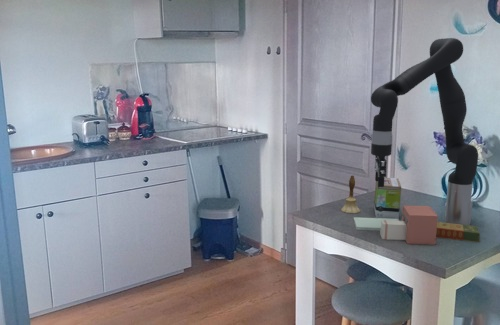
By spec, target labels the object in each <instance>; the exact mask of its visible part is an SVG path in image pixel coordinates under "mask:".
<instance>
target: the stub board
mask: <svg viewBox="0 0 500 325" xmlns="http://www.w3.org/2000/svg"><path fill="white" fill-rule="evenodd" d="M381 220H390V221H400V220H399V219H388V218H375V217H353V223H354V226H355V230H356V231H372V232H373V231H378V232H381Z"/></svg>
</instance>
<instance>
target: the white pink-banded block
mask: <svg viewBox="0 0 500 325" xmlns="http://www.w3.org/2000/svg"><path fill="white" fill-rule="evenodd" d="M406 231H407V222H406V221H402V220H399V221H390V220H381V231H379V232H380V237H381V239H382V240H390V241H391V240H392V241H393V240H395V241H396V240H397V241H406Z"/></svg>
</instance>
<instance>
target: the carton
mask: <svg viewBox="0 0 500 325" xmlns="http://www.w3.org/2000/svg"><path fill="white" fill-rule="evenodd" d="M480 236H481V235H480V230H479V227H478V226H477V225H471V224H470V225H461V224H452V223H446V222H441V221H437V231H436V239H446V240H454V241H455V240H456V241H462V242H463V241H464V242H471V243H480Z"/></svg>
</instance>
